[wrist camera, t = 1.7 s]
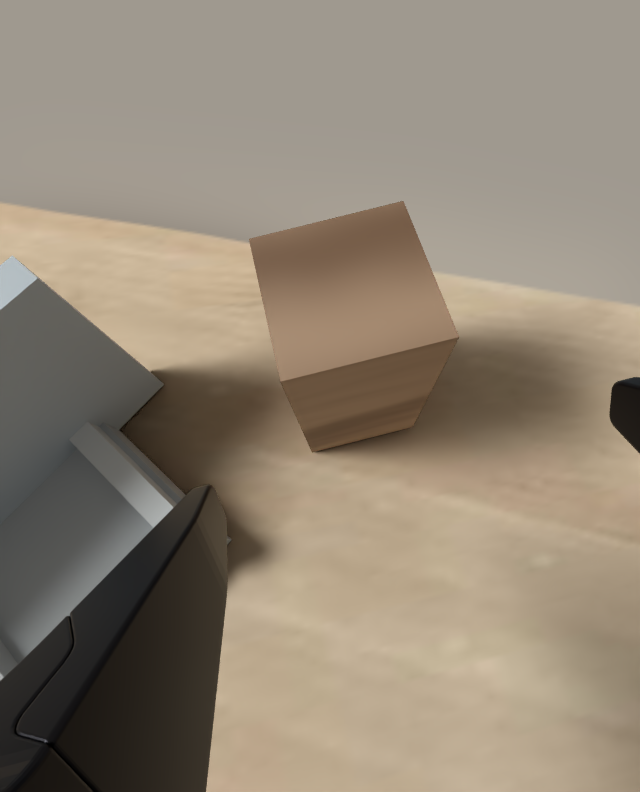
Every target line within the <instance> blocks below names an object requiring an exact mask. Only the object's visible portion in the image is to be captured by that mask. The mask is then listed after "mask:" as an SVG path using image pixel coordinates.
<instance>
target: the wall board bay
mask: <svg viewBox="0 0 640 792" xmlns="http://www.w3.org/2000/svg"><path fill="white" fill-rule="evenodd" d="M163 385H164V384H163V383H162V382H161V381H160V380H159V379H158V378H156V377H155V376H154V375H153V374H152V373H151V372H150V371H148V370H147V369H146V368H145V367H144V366H143V365H141V364H140V363H139V362H138V361H137V360H135V359H134V358H133V357H132V356H131V355H130V354H128V353H127V352H126V351H125V350H124V349H122V348H121V347H120V346H119V345H118V344H117V343H115V342H114V341H113V340H112V339H111V338H109V337H108V336H107V335H106V334H105V333H104V332H102V331H101V330H100V329H99V328H98V327H96V326H95V325H94V324H93V323H92V322H90V321H89V320H88V319H87V318H86V317H85V316H83V315H82V314H81V313H80V312H79V311H77V310H76V309H75V308H74V307H73V306H72V305H70V304H69V303H68V302H67V301H66V300H64V299H63V298H62V297H61V296H60V295H58V294H57V293H56V292H55V291H54V290H53V289H51V288H50V287H49V286H48V285H47V284H45V283H44V282H43V281H42V280H41V279H40V278H38V277H37V276H36V275H35V274H34V273H32V272H31V271H30V270H29V269H28V268H26V267H25V266H24V265H23V264H22V263H21V262H19V261H18V260H17V259H16V258H15V257H13V256H11V257H10V258H9V259H8V260H6V261H5V262H4V263H3V264H1V265H0V680H2V679H3V678H4V677H5V676H6V675H7V674H8V673H9V672H10V671H11V670H12V669H13V668H14V667H16V666H17V665H18V664H19V663H20V662H21V661H22V660H23V659H24V658H25V657H26V656H27V655H28V654H29V653H30V652H31V651H32V650H33V649H34V648H35V647H36V646H37V645H38V644H39V643H40V642H41V641H42V640H43V639H44V638H45V637H46V636H47V635H48V634H49V633H50V632H51V631H52V630H53V629H54V628H55V627H56V626H57V625H58V624H59V623H60V622H61V621H62V620H63V619H64V618H65V617H66V616H70V612H71V611H72V610H73V609H74V608H75V607H76V606H77V605H78V604H79V603H80V602H81V601H82V600H83V599H84V598H85V597H86V596H87V595H88V594H89V593H90V592H91V591H92V590H93V589H94V588H95V587H96V586H97V585H98V584H99V583H100V582H101V581H102V580H103V579H104V578H105V577H106V576H107V575H108V574H109V572H110V571H111V570H112V569H113V568H114V567H115V566H116V565H117V564H118V563H119V562H120V561H121V560H122V559H123V558H124V557H125V556H126V555H127V554H128V553H129V552H130V551H131V550H132V549H133V548H134V547H135V546H136V545H137V544H138V543H139V542H140V541H141V540H142V539H143V538H144V537H145V536H146V535H147V534H148V533H149V532H150V531H151V530H152V529H153V528H154V527H155V526H156V525H157V524H158V523H159V522H160V521H161V520H162V519H163V518H164V517H165V516H166V515H167V514H168V513H169V512H170V511H171V510H172V509H173V508H174V507H175V506H176V505H177V504H178V503H179V502H180V501H181V500H182V499H183V498H184V497H185V496H186V495H185V494H184V493H183V492H182V491H181V490H180V489H179V488H178V487H177V486H176V485H175V484H174V483H173V482H172V481H171V480H170V479H169V478H168V477H167V476H166V475H165V474H164V473H163V472H162V471H161V470H160V469H159V468H158V467H156V466H155V465H154V464H153V463H152V462H151V461H150V460H149V459H148V458H147V457H146V456H145V455H144V454H143V453H142V452H141V451H140V450H139V449H138V448H137V447H136V446H135V445H134V444H133V443H132V442H131V441H130V440H129V439H128V438H127V437H126V436H125V435H124V434H123V433H122V432H120V431H119V429H120V428H121V427H122V426H123V425H124V424H125V423H126V422H127V421H128V420H129V419H130V418H131V417H132V416H133V415H134V414H135V413H136V412H137V411H138V410H139V409H140V408H141V407H142V406H143V405H144V404H145V403H146V402H147V401H148V400H149V399H150V398H151V397H152V396H153V395H154V394H155V393H156V392H157V391H158V390H159V389H160V388H161V387H162V386H163ZM231 540H232V539H231V538H230V537H228V536H227V545H228V544H229V542H230V541H231Z"/></svg>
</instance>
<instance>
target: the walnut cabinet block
mask: <svg viewBox="0 0 640 792" xmlns="http://www.w3.org/2000/svg"><path fill="white" fill-rule="evenodd" d="M249 241H250V246H251V250H252V255H253V259H254V264H255V268H256V273H257V278H258V282H259V287H260V291H261V296H262V300H263V305H264V309H265V314H266V318H267V323H268V328H269V332H270V337H271V341H272V346H273V350H274V355H275V359H276V364H277V368H278V373H279V378H280V382H281V384H282V386H283V389H284V391H285V393H286V395H287V397H288V400H289V402H290V404H291V406H292V409H293V411H294V413H295V415H296V417H297V420H298V422H299V424H300V426H301V429H302V431H303V433H304V435H305V437H306V440H307V442H308V444H309V446H310V449H311V451H312V452H316V451H320V450H323V449H327V448H331V447H335V446H339V445H343V444H347V443H351V442H355V441H359V440H363V439H367V438H371V437H375V436H379V435H383V434H387V433H391V432H395V431H399V430H403V429H407V428H411V427H413V425H414V423H415V422H416V420H417V418H418V416H419V414H420V412H421V410H422V408H423V406H424V404H425V402H426V400H427V398H428V396H429V394H430V392H431V390H432V389H433V387H434V385H435V383H436V381H437V379H438V377H439V375H440V373H441V371H442V369H443V367H444V365H445V363H446V361H447V359H448V357H449V356H450V354H451V352H452V350H453V348H454V346H455V344H456V342H457V340H458V338H459V336H458V333H457V331H456V328H455V326H454V323H453V321H452V319H451V316H450V314H449V311H448V309H447V306H446V304H445V301H444V299H443V297H442V294H441V292H440V289H439V287H438V284H437V282H436V280H435V277H434V275H433V272H432V270H431V268H430V265H429V262H428V260H427V258H426V255H425V253H424V250H423V248H422V246H421V243H420V241H419V238H418V236H417V234H416V231H415V228H414V226H413V223H412V221H411V219H410V216H409V214H408V211H407V209H406V206H405V204H404V202H403V201H401V202H397V203H393V204H389V205H385V206H381V207H377V208H373V209H369V210H364V211H360V212H356V213H352V214H349V215H344V216H340V217H336V218H332V219H328V220H324V221H320V222H316V223H312V224H308V225H304V226H300V227H296V228H291V229H287V230H284V231H279V232H276V233H271V234H267V235H263V236H259V237H255V238H251V239H249Z"/></svg>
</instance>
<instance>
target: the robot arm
mask: <svg viewBox="0 0 640 792" xmlns="http://www.w3.org/2000/svg"><path fill="white" fill-rule="evenodd" d="M610 420H611V423H612V424H613V426H614V427H615V428H616V429H617V430H618V431H619V432H620V433H621V434H622V435H623V436H624V438H625V439H626V440H627V441H628V442H629V443H630V444H631V445H632V446H633V447H634V448H635V449H636V450H637V451H638V452H639V453H640V377H633V378H629V379H625V380H621V381H618V382H616V383H615V384H614V385H613V387H612V393H611V403H610ZM226 597H227V521H226V516H225V512H224V510H223V507H222V505H221V503H220V500H219V498H218V495H217V493H216V491H215V488H214V487H213V486H212V485H210V484H208V485H203V486H199V487H195V488H193V489H192V490H190V491H189V492H188V493H187V495H186V496H185V497H184V498H183V499H182V500H181V501H180V502H179V503H178V504H177V505H176V506H175V507H174V508H173V509H172V510H171V511H170V512H169V513H168V514H167V515H166V516H165V517H164V518H163V519H162V520H161V521H160V522H159V523H158V524H157V525H156V526H155V527H154V528H153V529H152V530H151V531H150V532H149V533H148V534H147V535H146V536H145V537H144V538H143V539H142V540H141V541H140V542H139V543H138V544H137V545H136V546H135V547H134V548H133V549H132V550H131V551H130V552H129V553H128V554H127V555H126V556H125V557H124V558H123V559H122V560H121V561H120V562H119V563H118V564H117V565H116V566H115V567H114V568H113V569H112V570H111V571H110V572H109V574H108V575H107V576H106V577H105V578H104V579H103V580H102V581H101V582H100V583H99V584H98V585H97V586H96V587H95V588H94V589H93V590H92V591H91V592H90V593H89V594H88V595H87V596H86V597H85V598H84V599H83V600H82V601H81V602H80V603H79V604H78V605H77V606H76V607H75V608H74V609H73V610H72V611H71V612H70V616H66V617H65V618H64V619H63V620H62V621H61V622H60V623H59V624H58V625H57V626H56V627H55V628H54V629H53V630H52V631H51V632H50V633H49V634H48V635H47V636H46V637H45V638H44V639H43V640H42V641H41V642H40V643H39V644H38V645H37V646H36V647H35V648H34V649H33V650H32V651H31V652H30V653H29V654H28V655H27V656H26V657H25V658H24V659H23V660H22V661H21V662H20V663H19V664H18V665H17V666H16V667H14V668H13V669H12V670H11V671H10V672H9V673H8V674H7V675H6V676H5V677H4V678H3V679H2V680H0V792H206V786H207V777H208V767H209V758H210V748H211V739H212V730H213V720H214V711H215V701H216V692H217V683H218V673H219V664H220V654H221V645H222V636H223V626H224V617H225V607H226Z"/></svg>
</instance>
